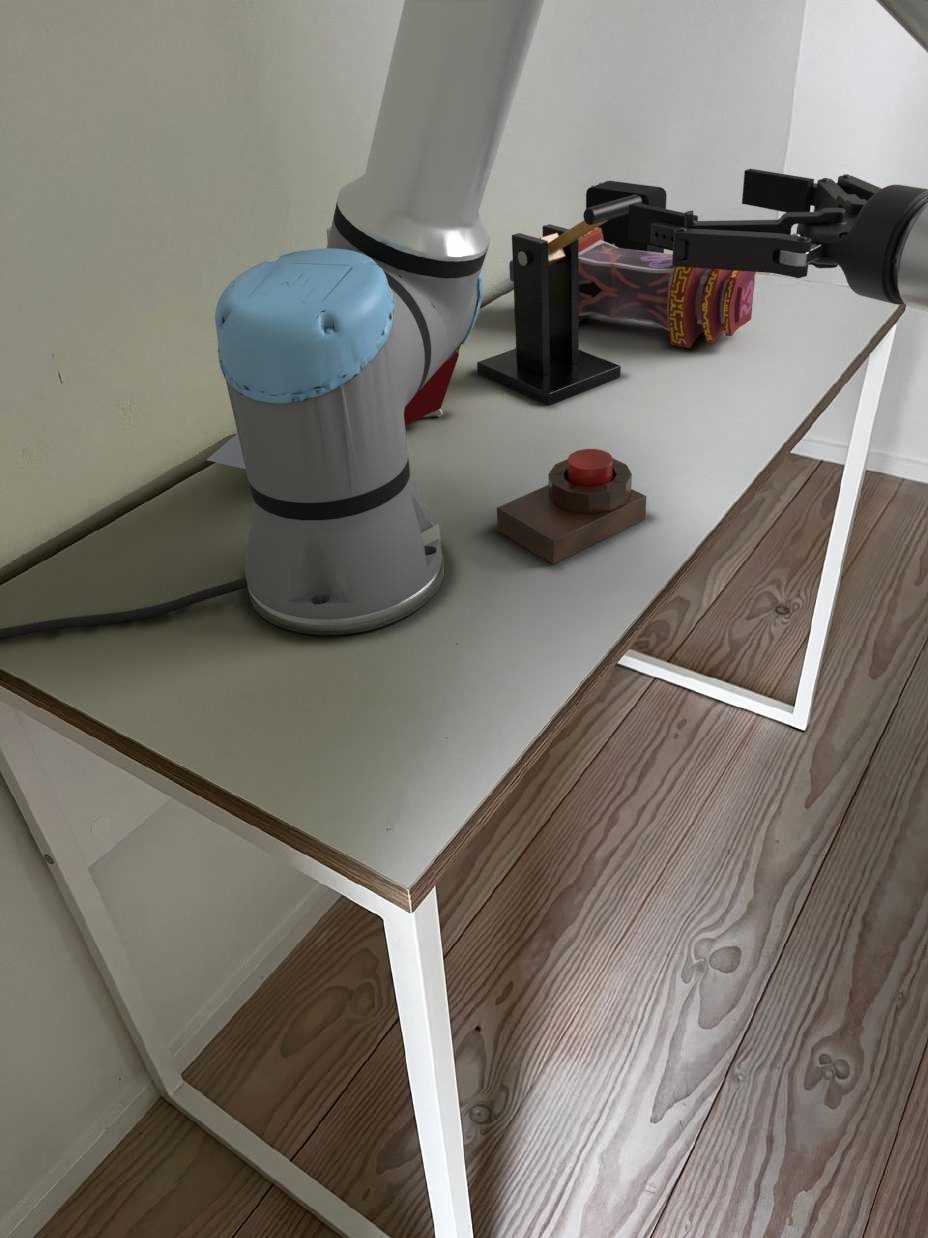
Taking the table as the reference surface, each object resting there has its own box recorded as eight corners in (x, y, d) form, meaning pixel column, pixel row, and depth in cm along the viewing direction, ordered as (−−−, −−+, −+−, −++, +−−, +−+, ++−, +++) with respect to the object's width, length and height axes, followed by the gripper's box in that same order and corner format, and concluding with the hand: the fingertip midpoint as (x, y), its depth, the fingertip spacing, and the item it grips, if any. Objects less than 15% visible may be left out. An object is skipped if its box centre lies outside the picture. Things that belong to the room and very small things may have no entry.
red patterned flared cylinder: (769, 240, 107) (532, 216, 122) (735, 266, 101) (490, 237, 116) (760, 329, 113) (534, 296, 128) (727, 358, 107) (495, 320, 122)
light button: (588, 493, 78) (588, 473, 77) (558, 477, 81) (558, 458, 80) (621, 478, 80) (622, 458, 79) (591, 463, 82) (591, 444, 81)
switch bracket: (620, 377, 105) (624, 232, 96) (549, 405, 101) (546, 256, 92) (546, 348, 113) (543, 212, 104) (477, 373, 109) (468, 233, 100)
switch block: (553, 565, 77) (552, 520, 75) (497, 530, 82) (495, 487, 79) (647, 518, 82) (649, 475, 79) (589, 488, 86) (590, 446, 84)
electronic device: (645, 274, 132) (648, 195, 126) (585, 263, 137) (585, 186, 132) (663, 266, 134) (667, 187, 128) (603, 255, 140) (604, 179, 134)
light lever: (646, 212, 91) (637, 186, 90) (597, 227, 88) (588, 200, 87) (564, 261, 102) (556, 238, 102) (519, 275, 99) (510, 251, 99)
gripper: (799, 354, 65) (579, 286, 79) (1010, 262, 76) (784, 217, 90) (815, 235, 60) (578, 185, 75) (1036, 156, 71) (794, 126, 86)
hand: (690, 202), depth 82 cm, fingers open, 13 cm apart
